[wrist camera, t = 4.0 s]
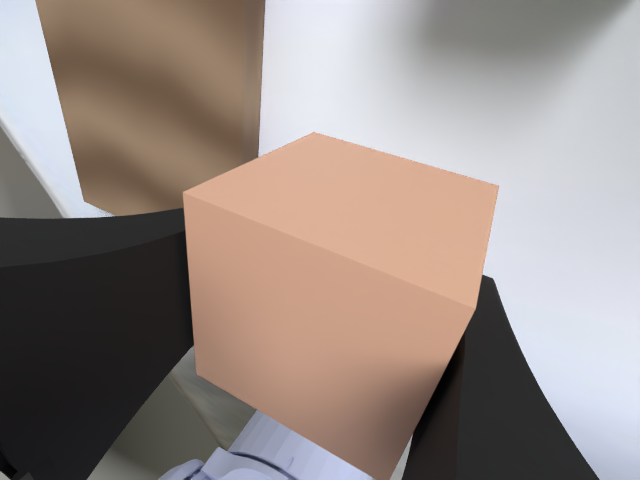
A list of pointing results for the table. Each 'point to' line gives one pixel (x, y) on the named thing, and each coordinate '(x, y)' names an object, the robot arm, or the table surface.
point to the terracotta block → (335, 289)
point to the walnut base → (155, 94)
